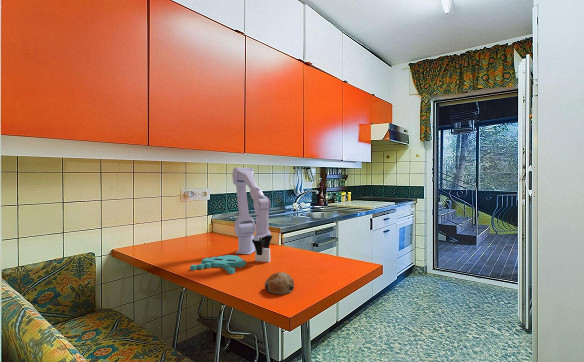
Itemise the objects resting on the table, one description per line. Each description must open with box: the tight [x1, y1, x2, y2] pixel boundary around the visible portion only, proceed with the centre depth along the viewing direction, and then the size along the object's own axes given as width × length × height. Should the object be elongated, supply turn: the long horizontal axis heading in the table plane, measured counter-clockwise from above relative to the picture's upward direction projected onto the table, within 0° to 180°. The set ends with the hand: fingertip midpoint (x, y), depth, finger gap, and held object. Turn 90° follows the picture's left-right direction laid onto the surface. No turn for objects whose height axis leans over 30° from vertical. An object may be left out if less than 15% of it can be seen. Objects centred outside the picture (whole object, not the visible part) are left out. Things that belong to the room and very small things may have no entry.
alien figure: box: [189, 254, 247, 275], centre depth 144 cm, size 20×2×20 cm
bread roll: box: [263, 271, 295, 295], centre depth 114 cm, size 10×10×8 cm
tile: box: [254, 247, 271, 263], centre depth 149 cm, size 2×7×6 cm, turn 72°
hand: (262, 252), depth 149 cm, fingers open, 7 cm apart
